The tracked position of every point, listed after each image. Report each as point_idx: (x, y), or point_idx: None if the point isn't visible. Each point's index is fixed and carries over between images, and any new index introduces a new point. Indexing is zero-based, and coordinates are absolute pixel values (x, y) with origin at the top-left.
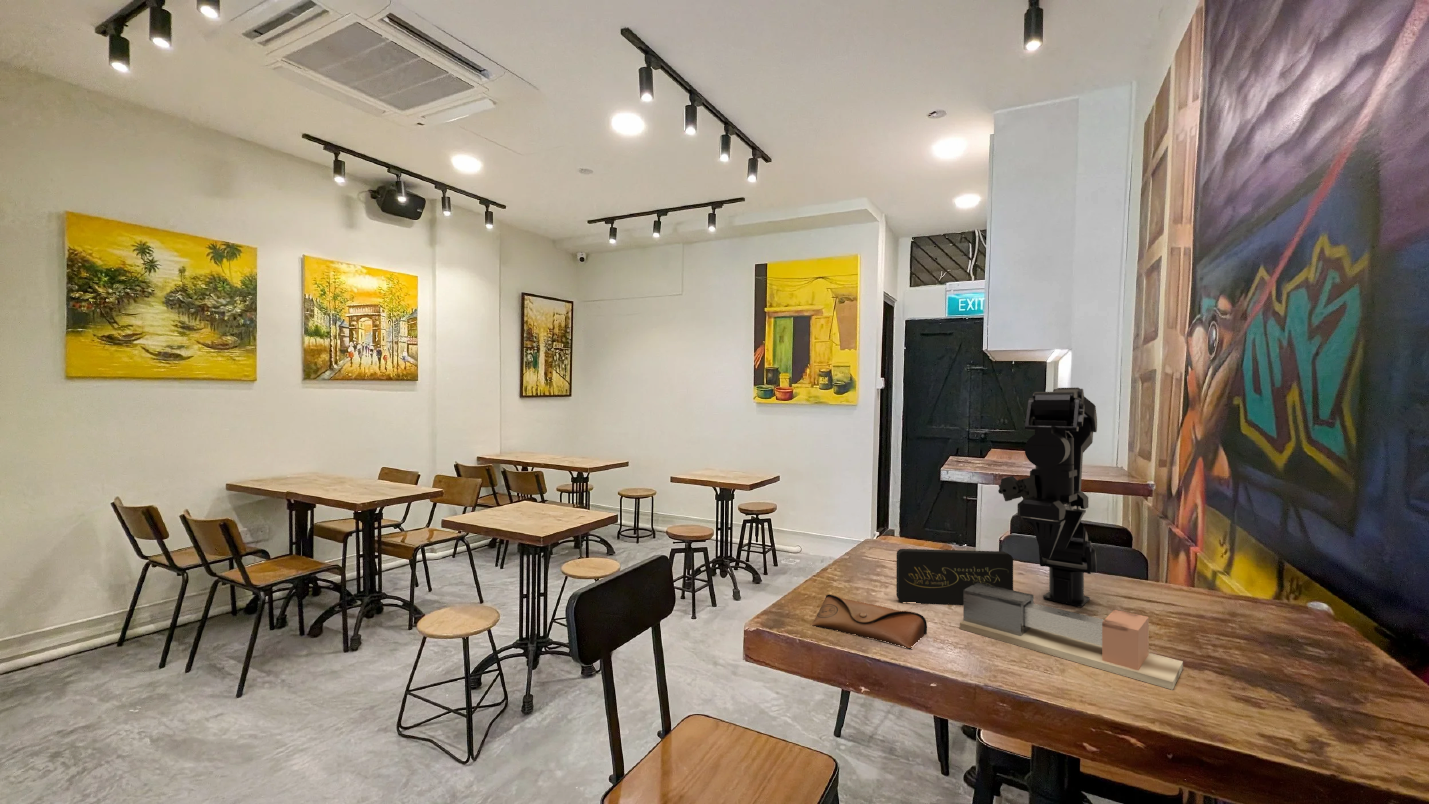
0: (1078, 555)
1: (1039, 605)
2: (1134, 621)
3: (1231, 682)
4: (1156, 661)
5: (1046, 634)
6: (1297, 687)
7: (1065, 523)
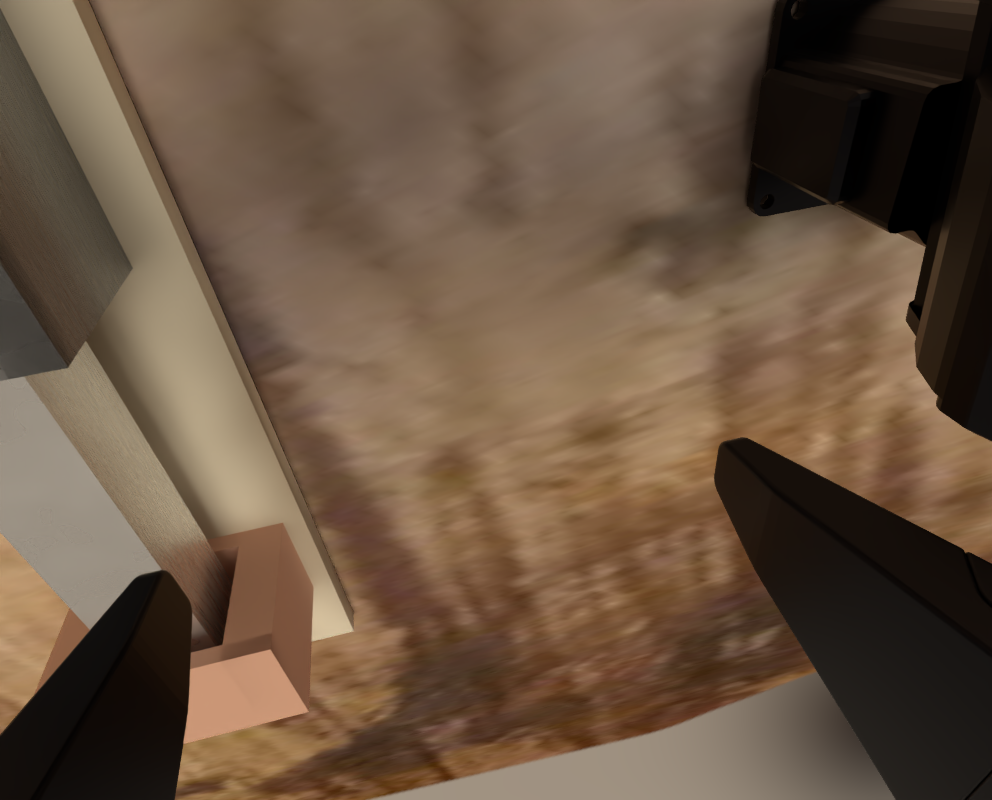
0: (934, 372)
1: (29, 414)
2: (192, 724)
3: (370, 668)
4: None
5: (98, 359)
6: (470, 702)
7: (939, 748)
